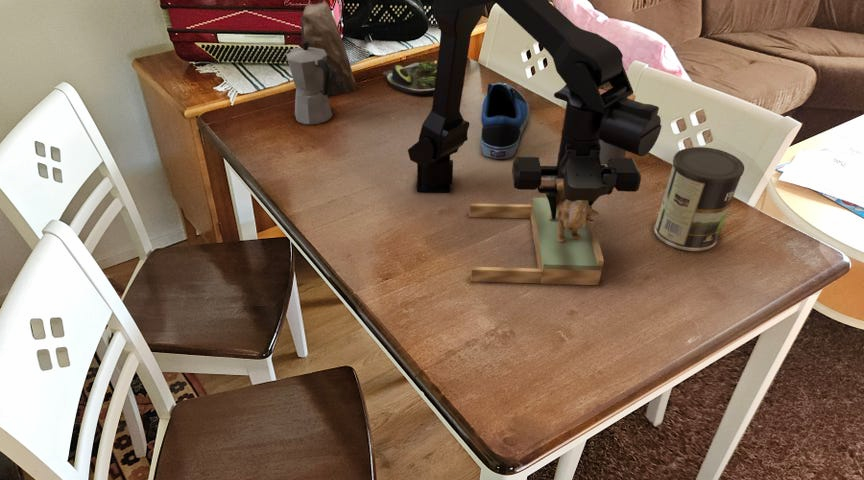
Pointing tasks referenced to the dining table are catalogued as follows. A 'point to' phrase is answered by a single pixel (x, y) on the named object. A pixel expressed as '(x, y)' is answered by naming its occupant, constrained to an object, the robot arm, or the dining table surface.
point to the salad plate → (414, 78)
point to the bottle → (612, 148)
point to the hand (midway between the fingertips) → (566, 218)
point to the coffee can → (697, 198)
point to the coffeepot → (310, 84)
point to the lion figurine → (572, 214)
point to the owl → (328, 46)
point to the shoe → (502, 120)
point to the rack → (545, 248)
